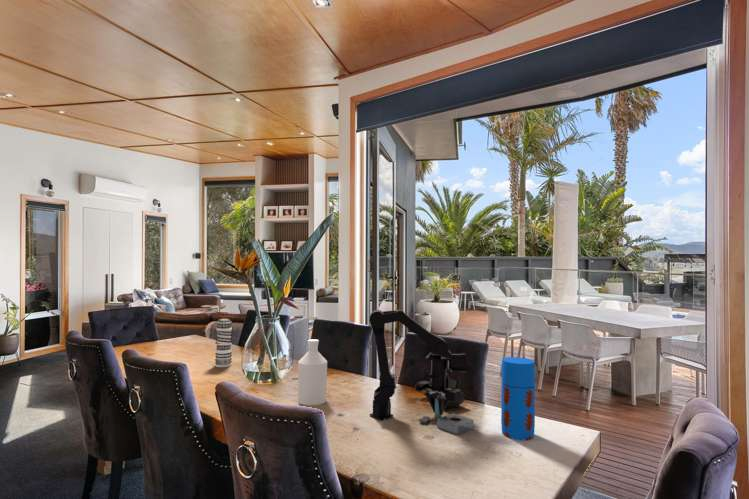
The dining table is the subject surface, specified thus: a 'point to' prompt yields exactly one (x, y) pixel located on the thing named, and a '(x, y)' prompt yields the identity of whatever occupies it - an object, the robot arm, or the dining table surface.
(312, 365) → the bottle
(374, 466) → the dining table surface
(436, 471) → the dining table surface
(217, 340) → the decorative candle
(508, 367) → the thermos
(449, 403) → the end cap
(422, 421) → the charcoal rectangular brick
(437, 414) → the round bit
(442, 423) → the socket block
